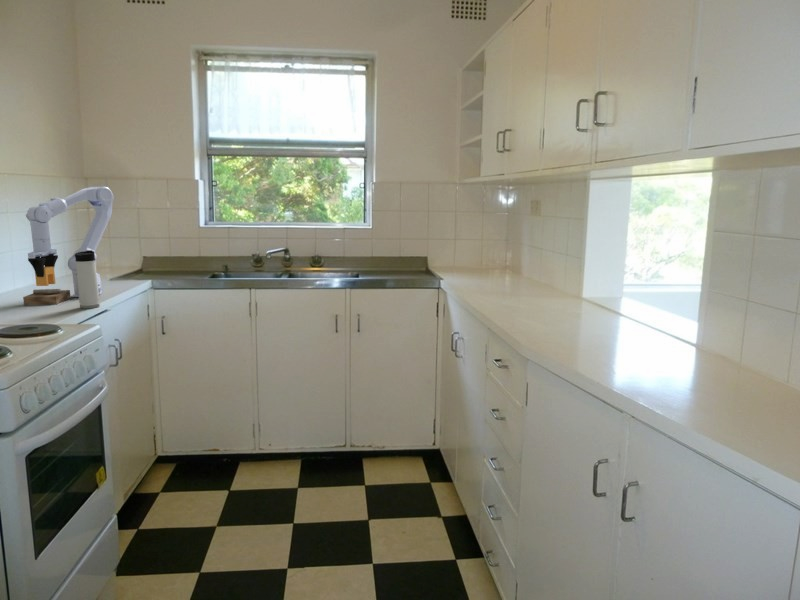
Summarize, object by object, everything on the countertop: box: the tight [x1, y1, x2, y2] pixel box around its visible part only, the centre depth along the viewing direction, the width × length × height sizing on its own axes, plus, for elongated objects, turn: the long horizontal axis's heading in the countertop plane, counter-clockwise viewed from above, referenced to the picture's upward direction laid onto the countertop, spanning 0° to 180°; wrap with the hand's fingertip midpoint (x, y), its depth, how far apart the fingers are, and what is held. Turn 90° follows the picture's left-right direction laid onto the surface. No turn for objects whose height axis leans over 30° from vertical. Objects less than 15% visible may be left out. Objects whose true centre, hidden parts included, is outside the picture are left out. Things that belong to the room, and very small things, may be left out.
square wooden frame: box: [22, 288, 72, 306], centre depth 229 cm, size 11×14×5 cm
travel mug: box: [74, 250, 101, 310], centre depth 216 cm, size 6×7×20 cm
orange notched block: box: [34, 266, 56, 287], centre depth 227 cm, size 4×5×6 cm
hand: (45, 275), depth 227 cm, fingers closed on orange notched block, 5 cm apart
